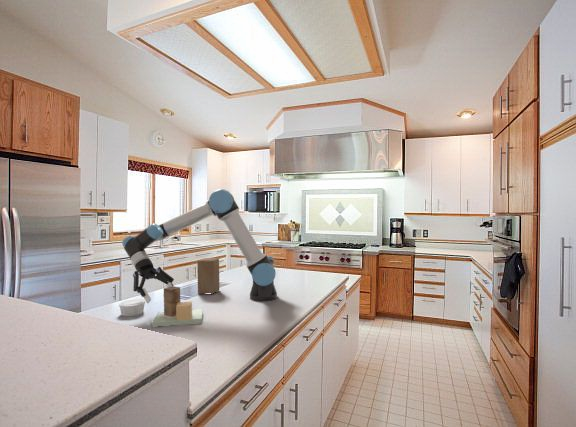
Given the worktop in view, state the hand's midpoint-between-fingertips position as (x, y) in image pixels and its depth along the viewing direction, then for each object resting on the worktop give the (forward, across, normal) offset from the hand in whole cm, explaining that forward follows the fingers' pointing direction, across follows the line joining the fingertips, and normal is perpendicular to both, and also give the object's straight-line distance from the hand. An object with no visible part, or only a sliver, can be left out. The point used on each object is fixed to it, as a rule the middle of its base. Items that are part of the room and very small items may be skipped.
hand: (162, 298), depth 148 cm
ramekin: (-6, +4, -19) cm, 20 cm away
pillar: (+9, 0, 0) cm, 9 cm away
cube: (+15, 0, +6) cm, 16 cm away
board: (+13, -1, +1) cm, 13 cm away
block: (-4, -43, -17) cm, 46 cm away
